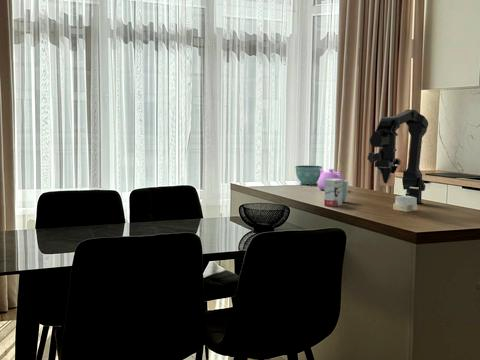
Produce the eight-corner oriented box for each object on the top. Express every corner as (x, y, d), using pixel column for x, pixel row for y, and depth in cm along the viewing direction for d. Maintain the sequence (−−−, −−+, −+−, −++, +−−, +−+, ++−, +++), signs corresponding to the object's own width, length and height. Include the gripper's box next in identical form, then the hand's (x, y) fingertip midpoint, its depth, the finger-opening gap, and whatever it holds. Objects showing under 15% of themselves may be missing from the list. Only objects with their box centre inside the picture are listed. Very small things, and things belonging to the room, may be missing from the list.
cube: (383, 184, 246) (383, 172, 245) (394, 184, 243) (394, 173, 243) (379, 185, 242) (380, 173, 241) (391, 185, 239) (391, 174, 239)
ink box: (333, 207, 246) (334, 180, 245) (323, 205, 249) (324, 179, 248) (342, 204, 253) (343, 178, 251) (332, 203, 256) (333, 178, 254)
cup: (349, 201, 264) (349, 180, 263) (344, 203, 257) (345, 181, 256) (333, 200, 267) (333, 179, 266) (328, 202, 260) (329, 181, 259)
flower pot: (294, 185, 332) (294, 166, 330) (295, 182, 347) (296, 164, 346) (321, 186, 329) (322, 167, 328) (322, 183, 345) (322, 165, 344)
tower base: (404, 209, 245) (405, 202, 244) (417, 211, 239) (417, 204, 238) (393, 210, 241) (393, 203, 241) (405, 212, 235) (405, 205, 235)
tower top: (408, 202, 244) (408, 195, 243) (416, 204, 237) (416, 197, 237) (395, 203, 242) (395, 196, 242) (402, 205, 236) (403, 198, 236)
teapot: (350, 191, 304) (351, 169, 302) (330, 192, 298) (330, 170, 296) (328, 187, 321) (329, 167, 320) (309, 188, 315) (309, 167, 314)
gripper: (376, 145, 253) (375, 179, 255) (363, 146, 237) (362, 183, 239) (401, 145, 247) (400, 181, 249) (389, 147, 231) (387, 185, 233)
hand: (387, 182), depth 242 cm, fingers closed on cube, 5 cm apart
